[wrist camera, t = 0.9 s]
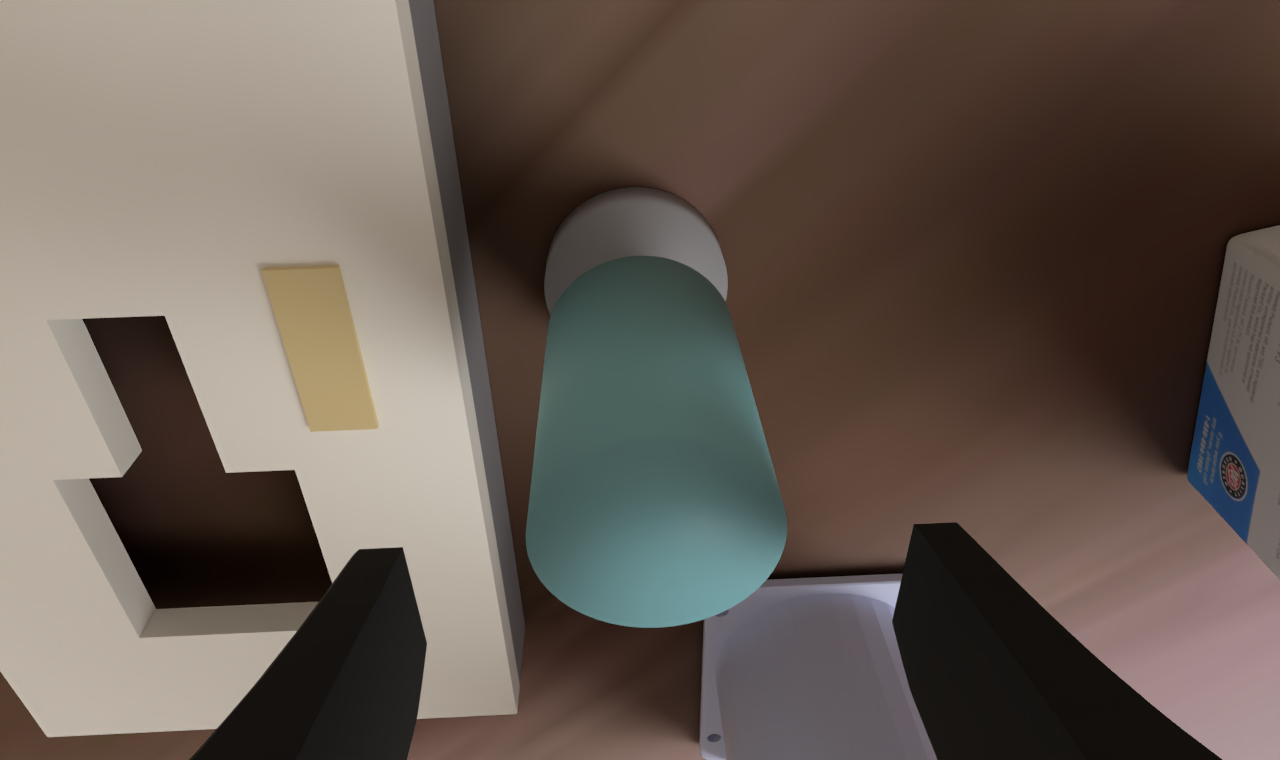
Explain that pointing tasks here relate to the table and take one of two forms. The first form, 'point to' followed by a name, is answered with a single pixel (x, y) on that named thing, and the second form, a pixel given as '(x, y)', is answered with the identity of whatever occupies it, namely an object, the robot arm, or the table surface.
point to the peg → (647, 423)
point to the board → (240, 337)
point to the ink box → (1244, 397)
